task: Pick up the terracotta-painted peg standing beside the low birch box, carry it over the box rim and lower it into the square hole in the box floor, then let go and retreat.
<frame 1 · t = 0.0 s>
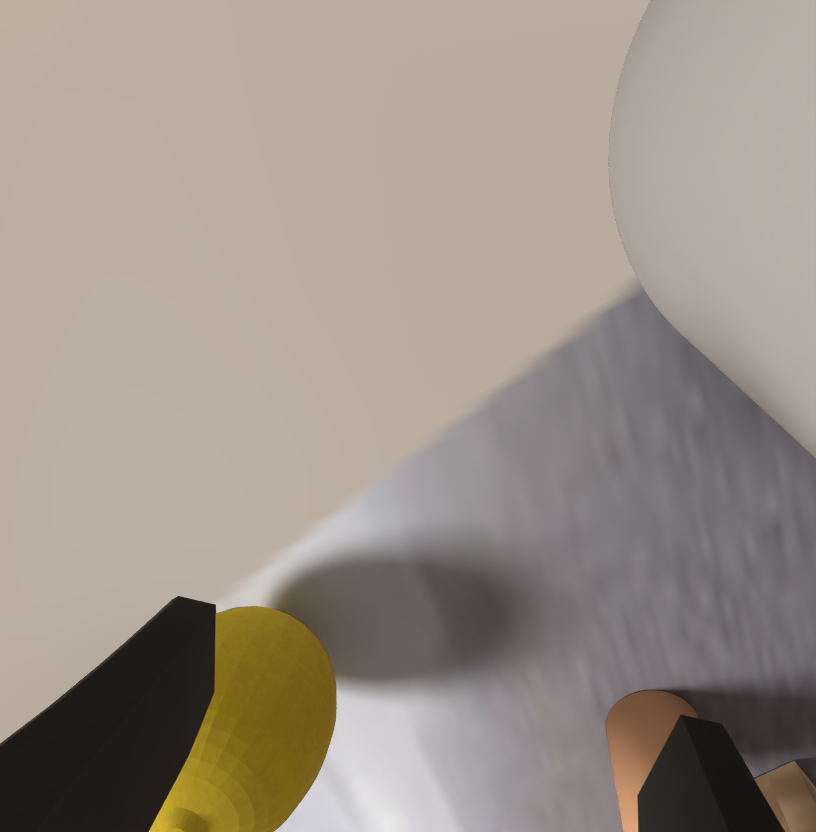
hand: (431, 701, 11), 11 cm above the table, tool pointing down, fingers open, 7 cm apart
peg: (652, 727, 23), on the table
lemon: (281, 627, 24), on the table
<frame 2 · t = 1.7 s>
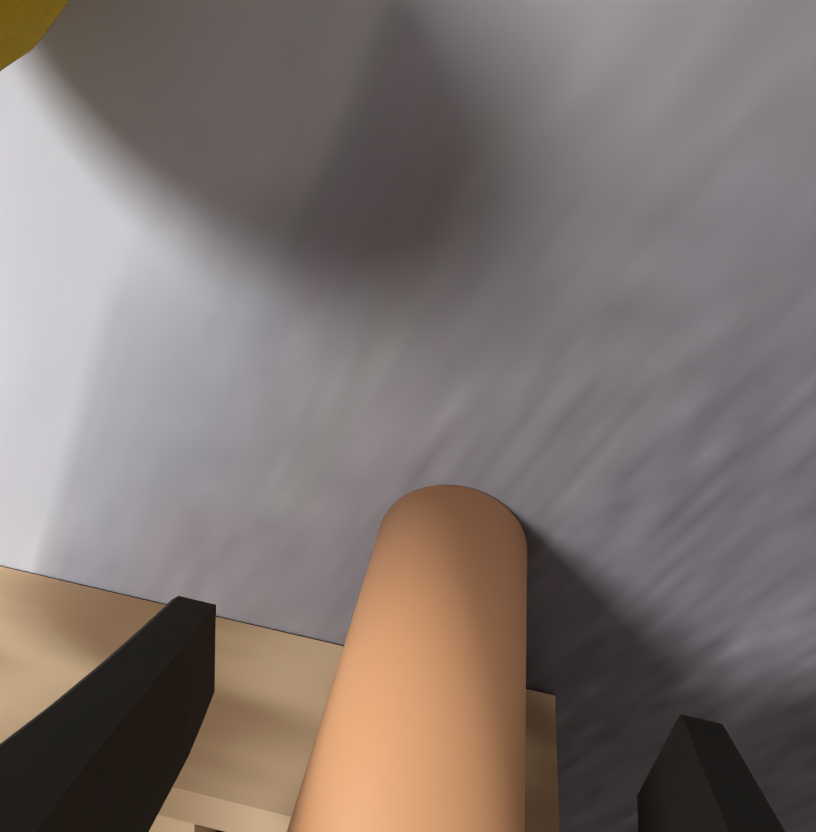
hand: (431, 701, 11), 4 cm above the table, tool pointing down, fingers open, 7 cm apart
peg: (451, 546, 14), on the table
box: (210, 782, 19), on the table
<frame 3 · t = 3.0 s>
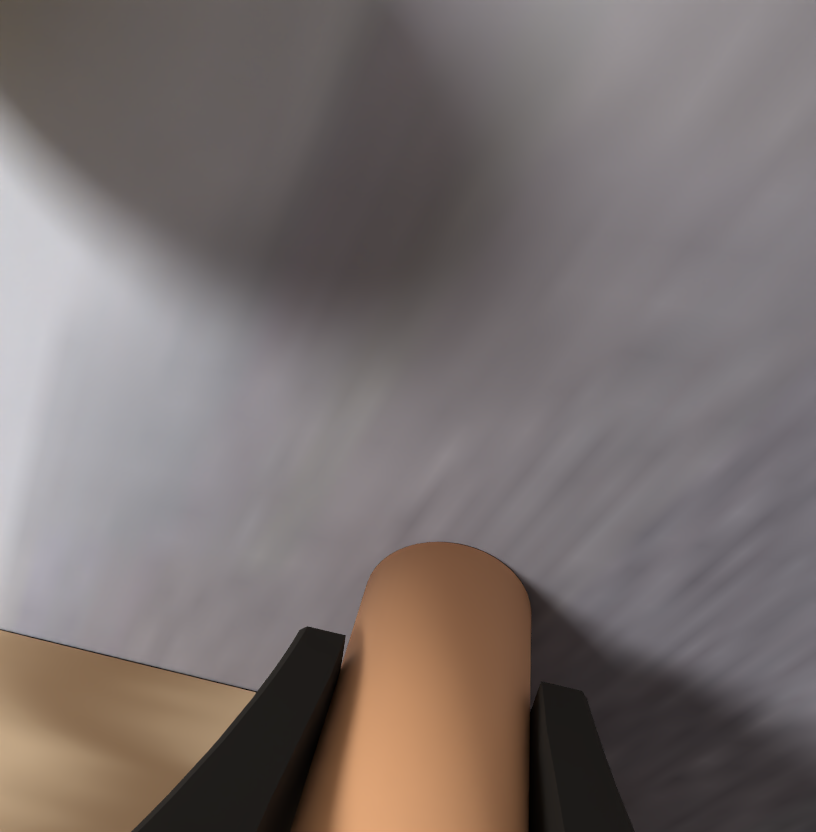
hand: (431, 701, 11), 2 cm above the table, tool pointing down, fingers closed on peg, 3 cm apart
peg: (446, 608, 13), on the table, touching gripper
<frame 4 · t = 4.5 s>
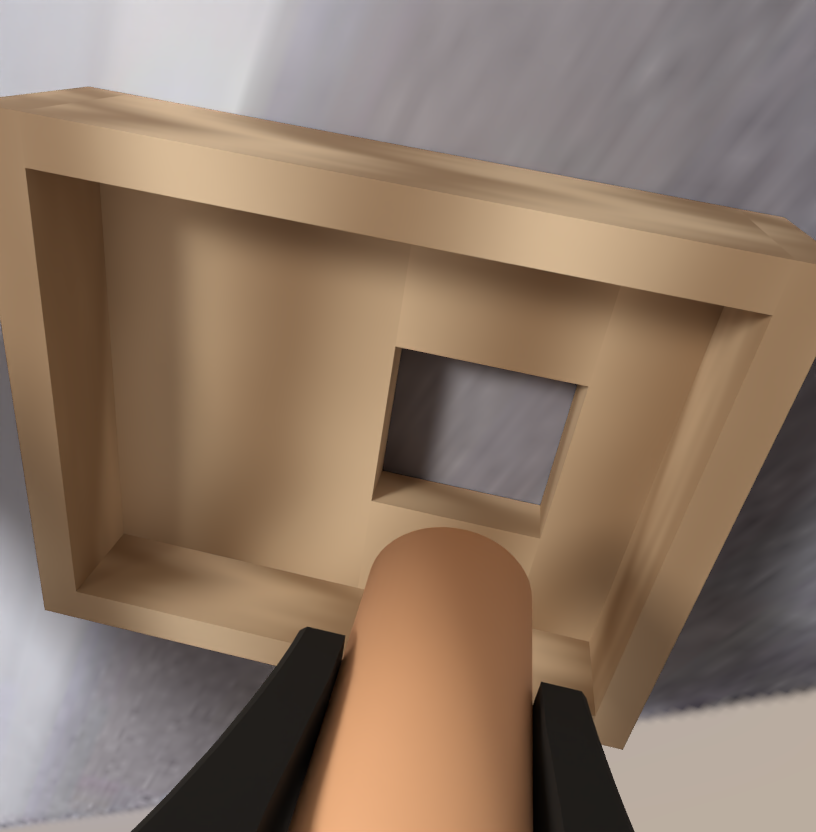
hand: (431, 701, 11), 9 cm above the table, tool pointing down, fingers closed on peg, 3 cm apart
peg: (448, 595, 13), point 7 cm above the table, touching gripper
box: (386, 399, 19), on the table
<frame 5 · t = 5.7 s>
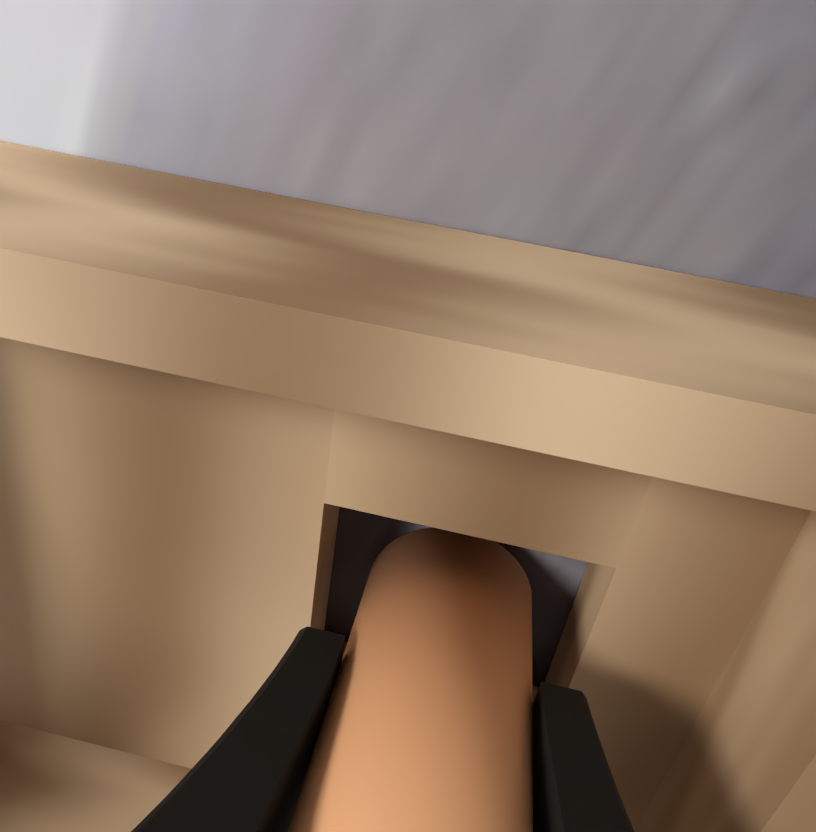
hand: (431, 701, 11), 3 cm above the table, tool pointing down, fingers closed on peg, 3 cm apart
peg: (448, 595, 13), point 1 cm above the table, touching gripper
box: (324, 550, 13), on the table
when the fingers open (3 cm above the table, at t = 6.2 s): peg stays where it is, resting in box.
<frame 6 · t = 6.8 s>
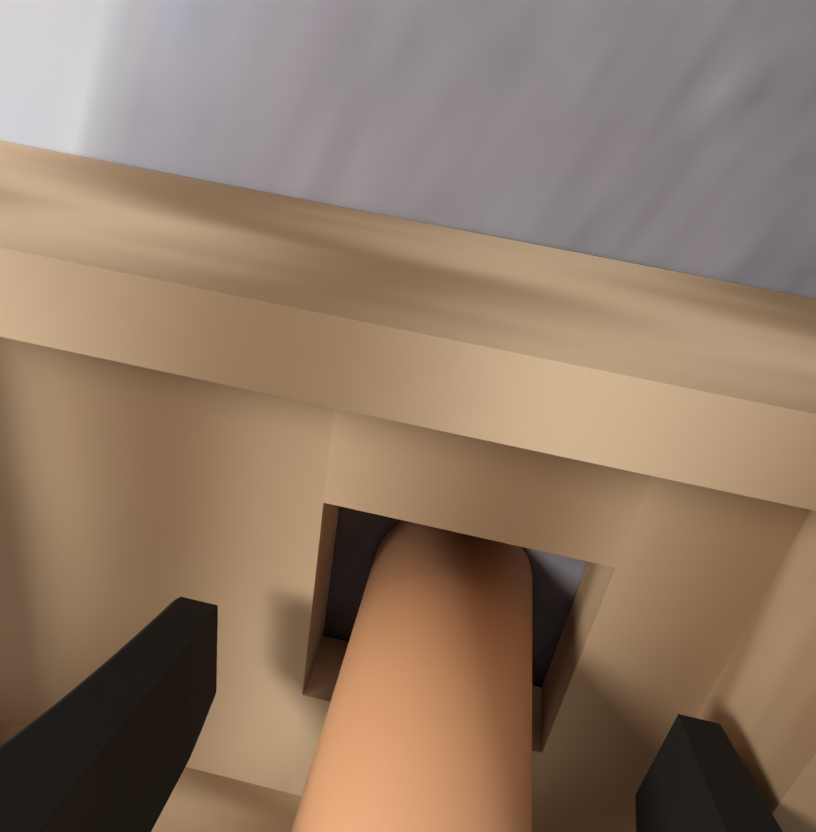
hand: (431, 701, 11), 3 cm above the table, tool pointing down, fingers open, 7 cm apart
peg: (452, 575, 13), resting in box
box: (323, 549, 13), on the table
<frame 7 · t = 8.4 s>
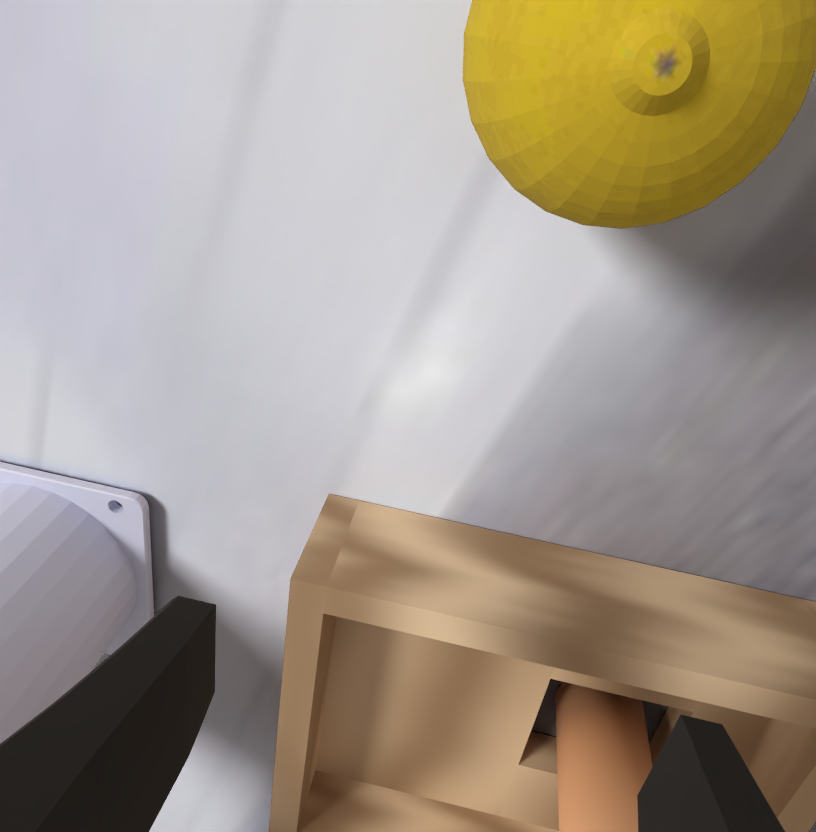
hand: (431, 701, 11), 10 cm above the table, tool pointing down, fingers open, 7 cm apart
peg: (598, 701, 25), resting in box
box: (528, 686, 25), on the table
lemon: (605, 49, 15), on the table
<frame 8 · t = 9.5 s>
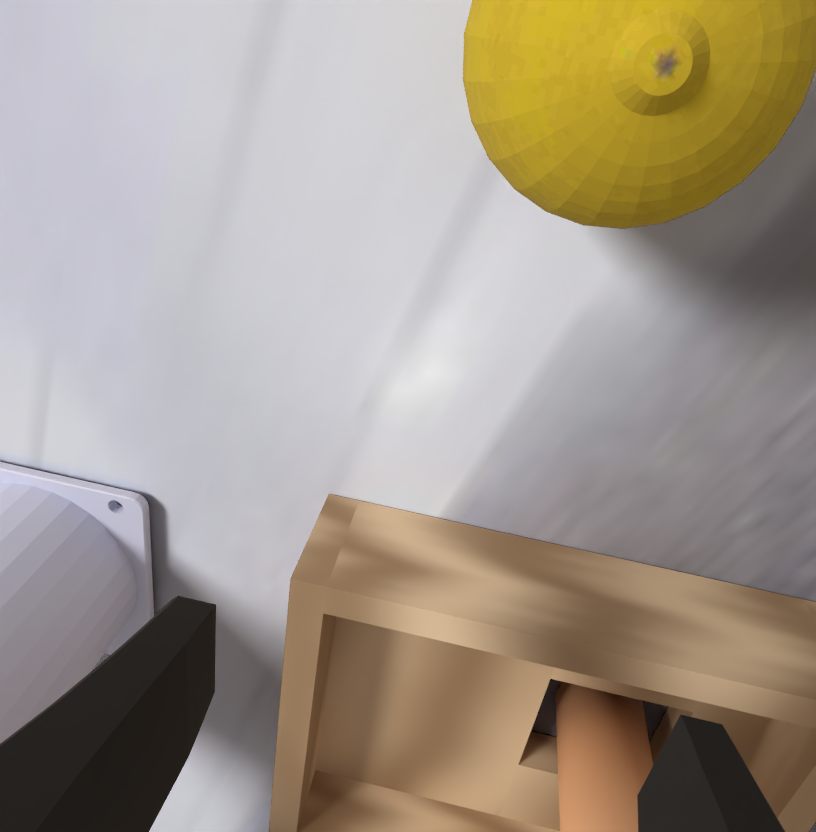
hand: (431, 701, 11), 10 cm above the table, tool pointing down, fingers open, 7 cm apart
peg: (598, 701, 25), resting in box
box: (528, 686, 25), on the table
lemon: (605, 49, 15), on the table
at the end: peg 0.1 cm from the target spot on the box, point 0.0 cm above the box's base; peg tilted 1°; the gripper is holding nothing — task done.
